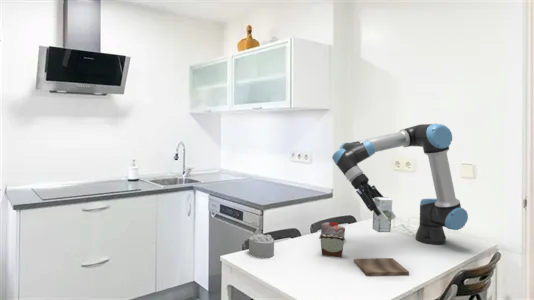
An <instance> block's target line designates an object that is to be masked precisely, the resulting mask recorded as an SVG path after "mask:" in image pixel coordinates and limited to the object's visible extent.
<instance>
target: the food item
mask: <svg viewBox="0 0 534 300" xmlns="http://www.w3.org/2000/svg"><path fill="white" fill-rule="evenodd" d="M345 231H346V228H345V227H343V226H340V225H339V223H337V222H336V221H331V222H324V223H323V222H322V223H321V228H320V234H322V233H338V234H342V235H344V236H345V235H346V233H345Z"/></svg>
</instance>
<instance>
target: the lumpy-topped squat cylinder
mask: <svg viewBox="0 0 534 300" xmlns="http://www.w3.org/2000/svg"><path fill="white" fill-rule="evenodd" d="M248 253H249V254H250V255H251V256H253V257H254V258H255V257H256V258H260V259H271V258H273V257H274V256H275V239H274V238H273V237H272V235H271V234H263V233H259V234H254V235H252V236H249V237H248Z"/></svg>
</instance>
